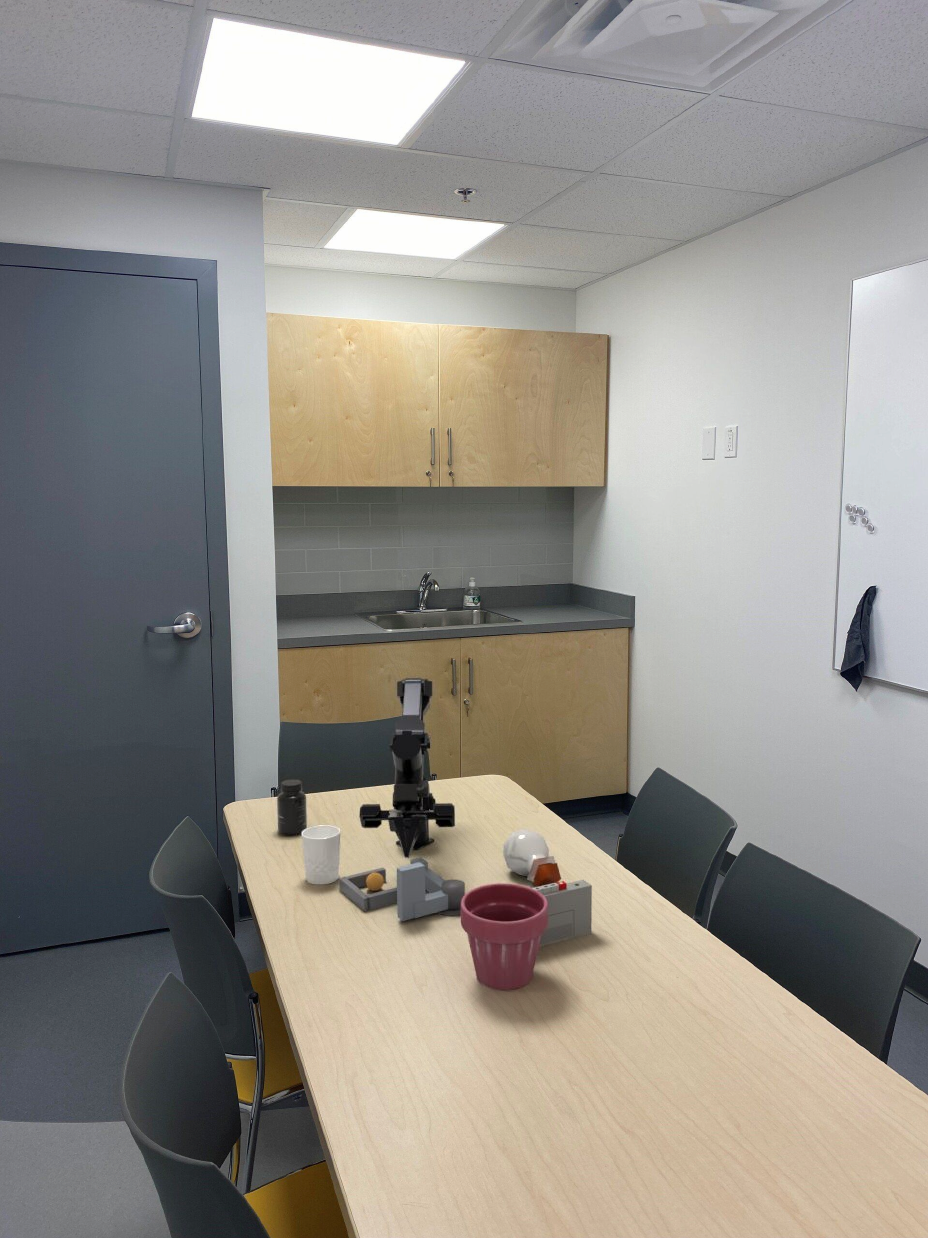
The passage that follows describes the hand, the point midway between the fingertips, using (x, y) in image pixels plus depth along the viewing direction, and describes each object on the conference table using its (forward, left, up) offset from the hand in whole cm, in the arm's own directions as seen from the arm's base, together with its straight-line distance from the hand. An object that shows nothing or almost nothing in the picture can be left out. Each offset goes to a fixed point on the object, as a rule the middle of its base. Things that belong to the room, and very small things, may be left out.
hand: (406, 857), depth 172 cm
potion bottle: (-22, +15, -9) cm, 28 cm away
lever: (-1, +2, -8) cm, 8 cm away
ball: (0, -8, -7) cm, 11 cm away
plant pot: (+14, +31, -9) cm, 35 cm away
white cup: (+2, -21, -9) cm, 23 cm away
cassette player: (-1, +31, -9) cm, 32 cm away
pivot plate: (-2, +9, -9) cm, 13 cm away
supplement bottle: (-14, -46, -9) cm, 49 cm away
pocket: (+1, -7, -9) cm, 11 cm away
